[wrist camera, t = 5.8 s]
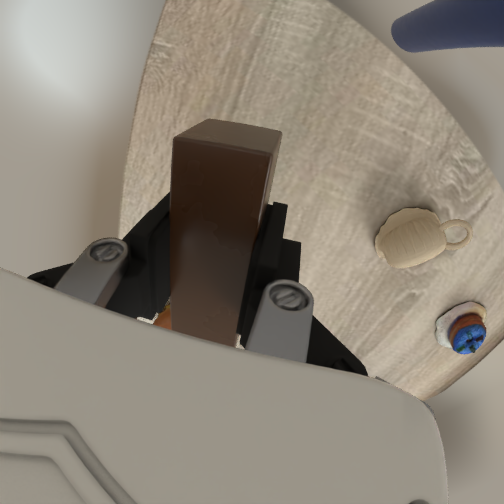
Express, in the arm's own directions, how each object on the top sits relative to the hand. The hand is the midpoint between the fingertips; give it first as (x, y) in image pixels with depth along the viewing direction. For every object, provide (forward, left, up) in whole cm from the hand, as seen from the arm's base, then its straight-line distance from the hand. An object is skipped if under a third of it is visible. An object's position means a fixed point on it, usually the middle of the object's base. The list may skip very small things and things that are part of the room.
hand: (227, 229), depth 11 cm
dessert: (+15, +27, -15) cm, 34 cm away
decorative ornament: (+4, +14, -15) cm, 21 cm away
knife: (+6, 0, 0) cm, 6 cm away
